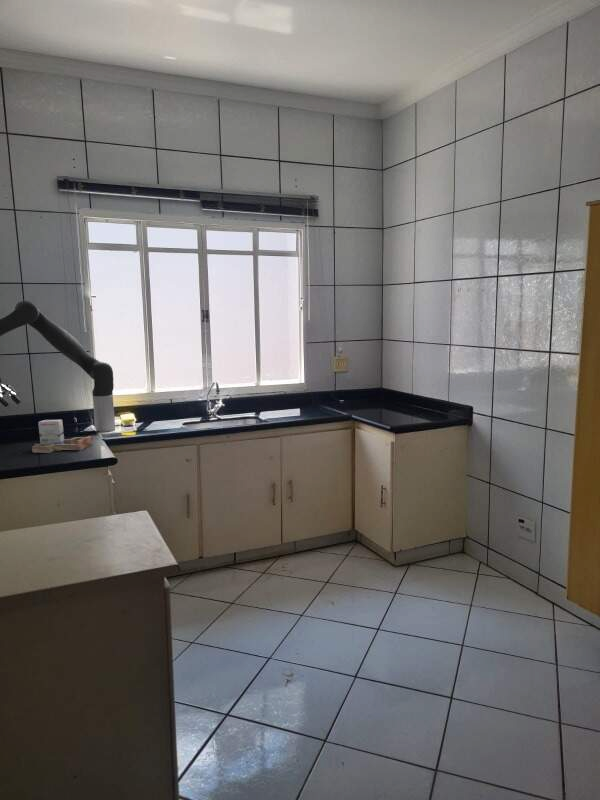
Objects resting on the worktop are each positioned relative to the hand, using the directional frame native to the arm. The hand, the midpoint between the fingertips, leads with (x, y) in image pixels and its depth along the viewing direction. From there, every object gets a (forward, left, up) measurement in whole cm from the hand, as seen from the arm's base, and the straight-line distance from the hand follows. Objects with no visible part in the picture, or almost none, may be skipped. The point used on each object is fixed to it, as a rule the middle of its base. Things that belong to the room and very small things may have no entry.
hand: (13, 404), depth 242 cm
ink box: (0, +16, -19) cm, 25 cm away
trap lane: (0, +21, -19) cm, 28 cm away
